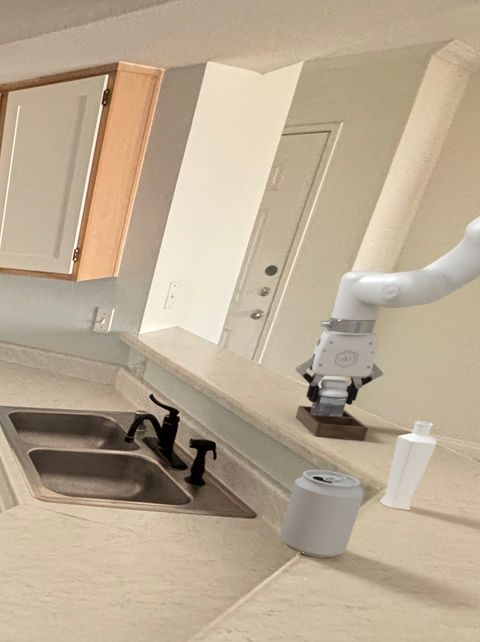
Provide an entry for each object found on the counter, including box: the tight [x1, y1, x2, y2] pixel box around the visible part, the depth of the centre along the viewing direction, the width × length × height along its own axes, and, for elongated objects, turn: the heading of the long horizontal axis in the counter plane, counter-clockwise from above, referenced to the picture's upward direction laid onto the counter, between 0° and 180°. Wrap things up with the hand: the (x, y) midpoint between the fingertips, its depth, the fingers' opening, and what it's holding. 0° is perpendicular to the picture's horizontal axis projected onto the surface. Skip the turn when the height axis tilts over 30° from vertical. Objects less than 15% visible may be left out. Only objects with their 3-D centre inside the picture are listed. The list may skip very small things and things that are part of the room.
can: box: [279, 469, 365, 559], centre depth 88 cm, size 8×8×12 cm
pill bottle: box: [310, 378, 349, 417], centre depth 140 cm, size 6×6×10 cm
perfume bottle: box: [379, 420, 438, 511], centre depth 99 cm, size 5×4×15 cm
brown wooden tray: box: [295, 405, 369, 441], centre depth 139 cm, size 8×16×3 cm, turn 151°
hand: (329, 401), depth 141 cm, fingers closed on pill bottle, 5 cm apart
